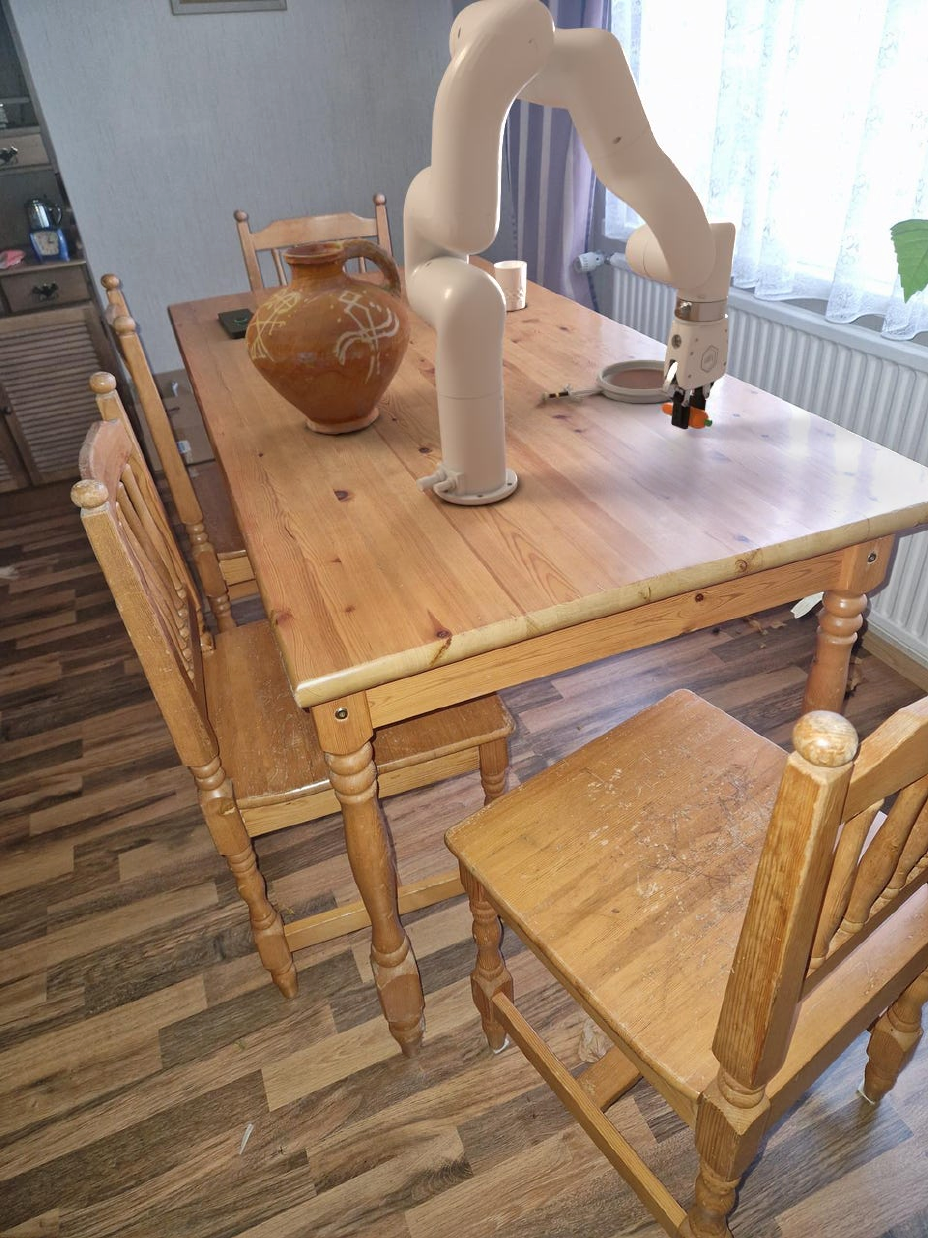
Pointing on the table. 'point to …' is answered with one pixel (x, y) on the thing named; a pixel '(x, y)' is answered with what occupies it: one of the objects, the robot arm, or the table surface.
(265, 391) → the table surface
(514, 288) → the white cup
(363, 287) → the jug
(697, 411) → the carrot
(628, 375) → the frying pan
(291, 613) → the table surface
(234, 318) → the smart home device
